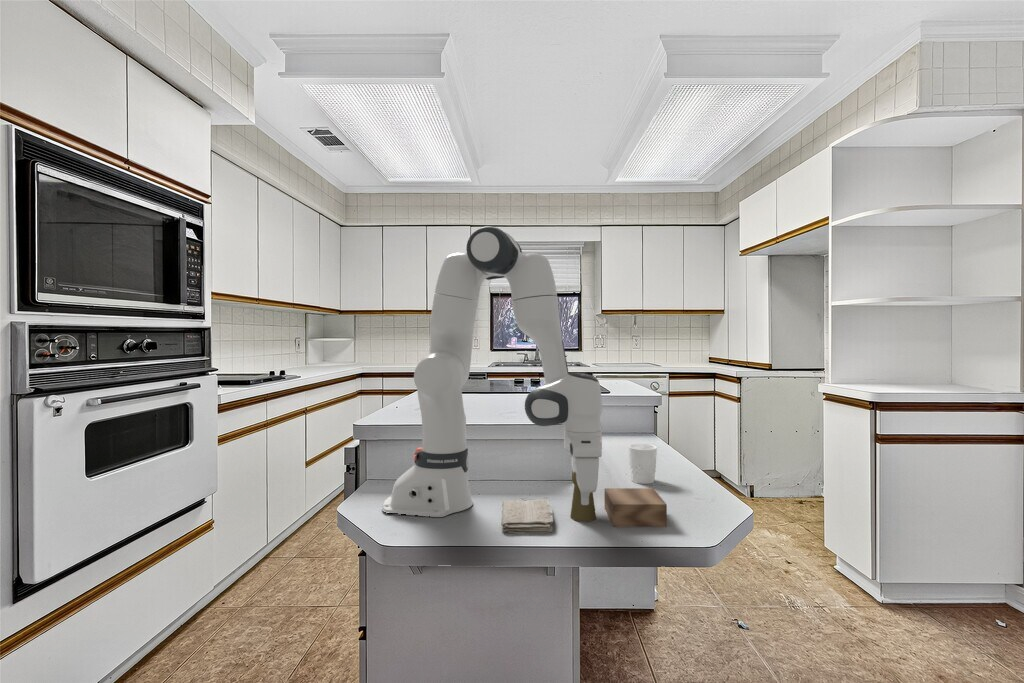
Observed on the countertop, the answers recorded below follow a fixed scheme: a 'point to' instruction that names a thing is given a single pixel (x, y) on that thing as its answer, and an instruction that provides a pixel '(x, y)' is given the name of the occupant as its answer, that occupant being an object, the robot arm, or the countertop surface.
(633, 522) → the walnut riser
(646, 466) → the white cup
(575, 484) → the olive tapered upright piece
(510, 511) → the washcloth
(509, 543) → the countertop surface
